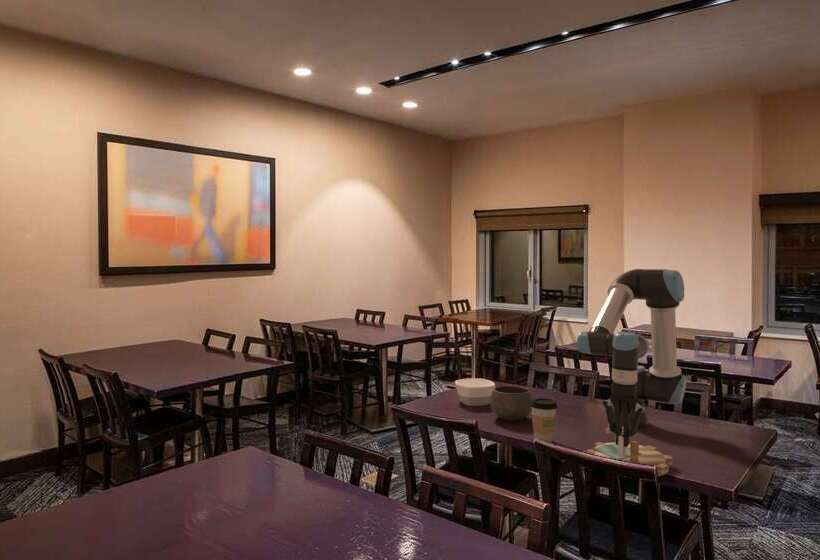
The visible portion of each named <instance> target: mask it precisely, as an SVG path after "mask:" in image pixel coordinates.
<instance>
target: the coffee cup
mask: <svg viewBox="0 0 820 560" xmlns="http://www.w3.org/2000/svg"><path fill="white" fill-rule="evenodd" d="M530 406H531V407H532V411H531V419H532V420H531V421H532V427H533V428H532V429H533V437H534V440H535V439H536V438H538V439H543V440H547V441H551V442H553V436H554V432H555V424H556V418H557V417H556V416H557V414H556V413H557V409H558V408H559V407H558V404H557V401H556V400H555V399H552V398H548V397H535V398H533V400H532V402H531V404H530Z"/></svg>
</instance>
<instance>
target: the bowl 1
mask: <svg viewBox="0 0 820 560" xmlns="http://www.w3.org/2000/svg"><path fill="white" fill-rule="evenodd" d="M454 385H455V388H456V391H457V394H458V396H459V400H460V402H461V403H462V404H463V405H465V406H468V407H481V406H487V405H490V398H491V394H492V391H493V390H494V388H495V387H496V384H495V382H494V381H493V380H492V381H491V380H489V379H486V378H473V377H472V378H462V379H457V380H455V381H454Z"/></svg>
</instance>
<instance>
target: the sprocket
mask: <svg viewBox="0 0 820 560" xmlns="http://www.w3.org/2000/svg"><path fill="white" fill-rule="evenodd" d="M587 453H590V454H594V455H598V456H602V457H606V458H612V459H616V460H622V461H627V462H632V463H640V464H647V465H655V466H656V468H657V472H658V473H660V474H664V473H667V472H668V473H669V471H668V465H669V466H673V457H672V456H671V455H669V454H663V453H662V452H660V451H658V447H656V446H652V445H646V446H645V445H640V443H639V441H635V440H634V441H632V440H631V441H629V446H628V447H626V455H625V456H624V457H619V456H618V445H616V443H615V442H601V441H597V442H594V443H593V447H592V448H591V449H589V448H587ZM668 473H667V474H668Z"/></svg>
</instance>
